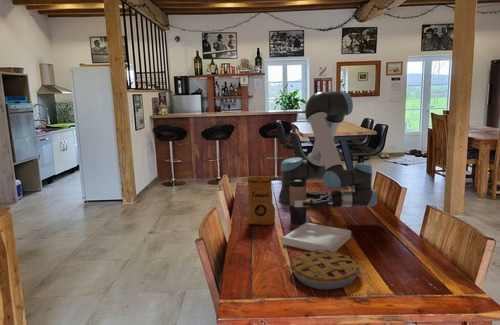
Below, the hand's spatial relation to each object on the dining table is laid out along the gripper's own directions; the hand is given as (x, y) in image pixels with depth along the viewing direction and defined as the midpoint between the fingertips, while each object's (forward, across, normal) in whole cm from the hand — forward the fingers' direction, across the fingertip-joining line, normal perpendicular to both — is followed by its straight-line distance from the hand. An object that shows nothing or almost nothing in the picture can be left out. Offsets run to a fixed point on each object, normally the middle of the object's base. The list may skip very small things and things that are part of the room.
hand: (293, 199), depth 169 cm
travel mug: (-2, 0, -11) cm, 11 cm away
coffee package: (+14, 0, -11) cm, 18 cm away
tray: (-8, -22, -11) cm, 26 cm away
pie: (-6, -51, -11) cm, 53 cm away
